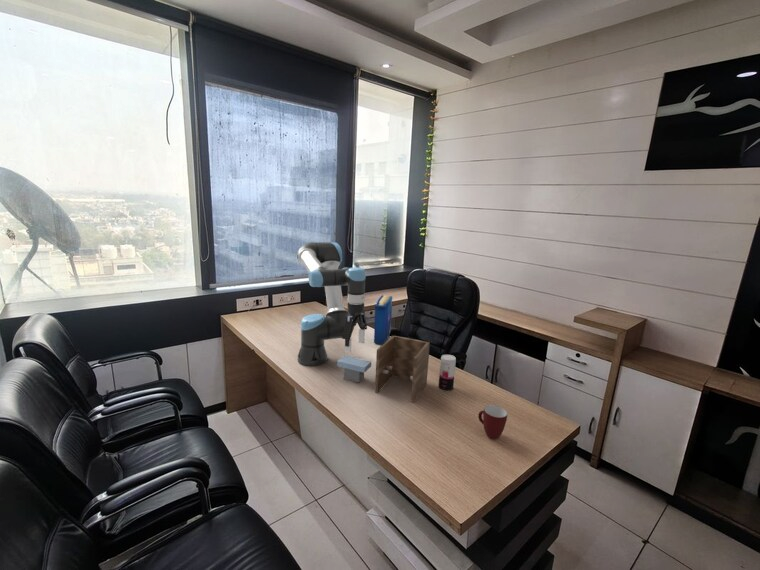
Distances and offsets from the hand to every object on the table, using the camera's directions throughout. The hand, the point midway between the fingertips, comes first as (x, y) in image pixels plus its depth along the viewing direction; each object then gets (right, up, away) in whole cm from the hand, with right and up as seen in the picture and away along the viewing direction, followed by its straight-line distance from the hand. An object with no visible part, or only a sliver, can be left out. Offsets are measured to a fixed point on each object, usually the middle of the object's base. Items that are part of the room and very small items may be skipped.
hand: (354, 347), depth 163 cm
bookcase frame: (+21, -17, -3) cm, 28 cm away
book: (+13, -4, +54) cm, 56 cm away
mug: (+51, -26, -33) cm, 66 cm away
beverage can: (+41, -18, -2) cm, 45 cm away
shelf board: (0, -9, +2) cm, 10 cm away
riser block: (-1, -15, +4) cm, 16 cm away
